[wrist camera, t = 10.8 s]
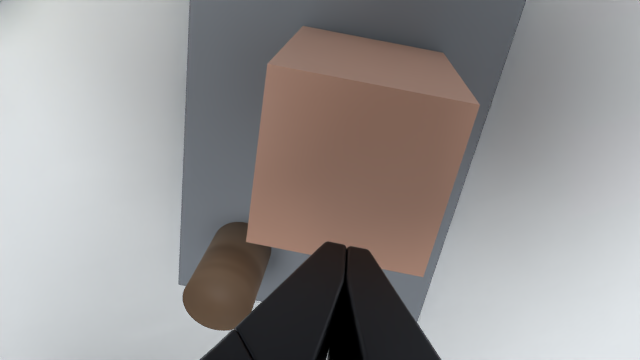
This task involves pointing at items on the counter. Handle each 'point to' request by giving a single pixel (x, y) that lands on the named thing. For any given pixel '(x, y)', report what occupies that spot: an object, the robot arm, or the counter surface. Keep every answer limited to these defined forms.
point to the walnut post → (226, 279)
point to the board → (248, 90)
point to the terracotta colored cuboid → (358, 147)
